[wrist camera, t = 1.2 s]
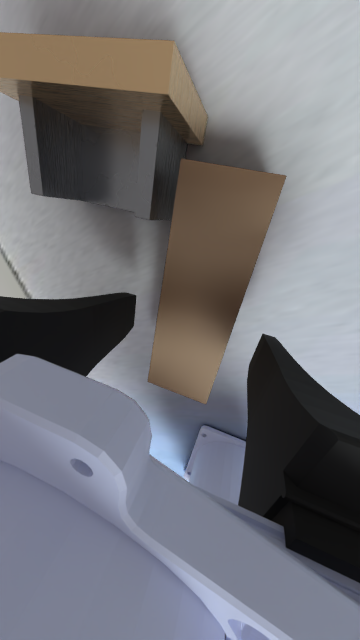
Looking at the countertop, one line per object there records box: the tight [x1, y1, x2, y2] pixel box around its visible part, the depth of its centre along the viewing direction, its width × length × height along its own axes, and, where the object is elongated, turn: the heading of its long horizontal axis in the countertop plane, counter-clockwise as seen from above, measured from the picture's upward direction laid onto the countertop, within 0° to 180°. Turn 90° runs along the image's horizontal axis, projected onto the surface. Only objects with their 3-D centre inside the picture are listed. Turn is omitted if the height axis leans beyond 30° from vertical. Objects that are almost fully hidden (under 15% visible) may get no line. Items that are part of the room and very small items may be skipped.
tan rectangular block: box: [148, 158, 286, 404], centre depth 13 cm, size 12×4×5 cm, turn 169°
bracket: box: [0, 32, 208, 220], centre depth 11 cm, size 5×9×6 cm, turn 79°
